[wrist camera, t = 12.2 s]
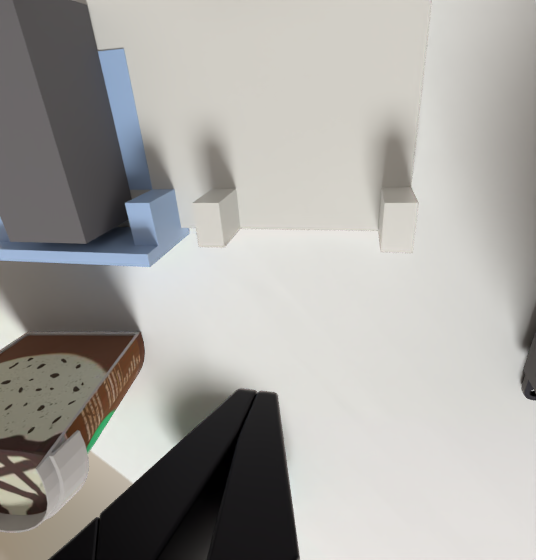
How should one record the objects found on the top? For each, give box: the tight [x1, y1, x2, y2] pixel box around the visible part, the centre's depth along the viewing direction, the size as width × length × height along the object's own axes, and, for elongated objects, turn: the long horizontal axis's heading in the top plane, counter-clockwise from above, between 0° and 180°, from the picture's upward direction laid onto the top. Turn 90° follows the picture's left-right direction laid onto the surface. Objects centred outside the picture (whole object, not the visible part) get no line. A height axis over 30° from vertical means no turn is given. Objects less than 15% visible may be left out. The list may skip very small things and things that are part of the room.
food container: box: [0, 332, 145, 532], centre depth 23 cm, size 12×6×10 cm, turn 99°
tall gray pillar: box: [0, 0, 132, 244], centre depth 16 cm, size 4×9×4 cm, turn 4°
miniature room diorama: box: [0, 0, 432, 267], centre depth 15 cm, size 20×13×4 cm, turn 94°
